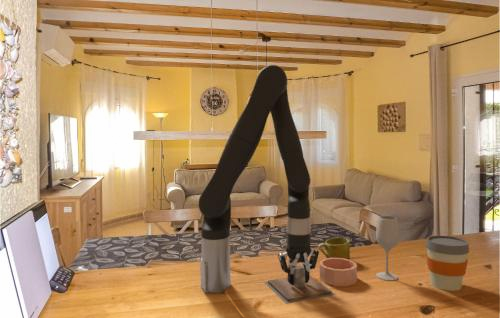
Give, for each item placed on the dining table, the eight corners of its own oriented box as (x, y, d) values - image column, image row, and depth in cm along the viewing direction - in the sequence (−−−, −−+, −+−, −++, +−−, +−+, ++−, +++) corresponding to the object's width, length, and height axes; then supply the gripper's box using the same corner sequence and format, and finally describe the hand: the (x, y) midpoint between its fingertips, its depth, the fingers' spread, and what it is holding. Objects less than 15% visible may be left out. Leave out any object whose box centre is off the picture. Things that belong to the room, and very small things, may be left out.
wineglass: (373, 278, 131) (374, 218, 130) (377, 271, 138) (378, 214, 136) (396, 282, 128) (398, 220, 126) (399, 274, 134) (400, 216, 133)
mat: (286, 306, 111) (286, 303, 111) (264, 284, 127) (264, 282, 127) (336, 296, 117) (336, 294, 117) (309, 277, 133) (309, 275, 133)
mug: (350, 251, 155) (346, 230, 152) (354, 267, 146) (350, 245, 142) (320, 255, 157) (316, 235, 154) (322, 271, 148) (318, 250, 144)
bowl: (332, 290, 122) (332, 272, 121) (313, 277, 133) (313, 260, 133) (364, 285, 126) (364, 267, 125) (342, 272, 137) (342, 256, 137)
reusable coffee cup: (473, 285, 125) (475, 240, 124) (458, 296, 116) (460, 248, 115) (434, 274, 134) (435, 233, 133) (418, 284, 126) (419, 240, 125)
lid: (287, 301, 112) (287, 279, 112) (268, 282, 126) (267, 262, 126) (331, 293, 118) (331, 272, 117) (307, 276, 132) (307, 257, 131)
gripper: (283, 236, 115) (283, 291, 116) (324, 231, 120) (324, 284, 121) (273, 230, 122) (273, 282, 123) (312, 225, 127) (312, 275, 128)
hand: (298, 282), depth 122 cm, fingers open, 4 cm apart
